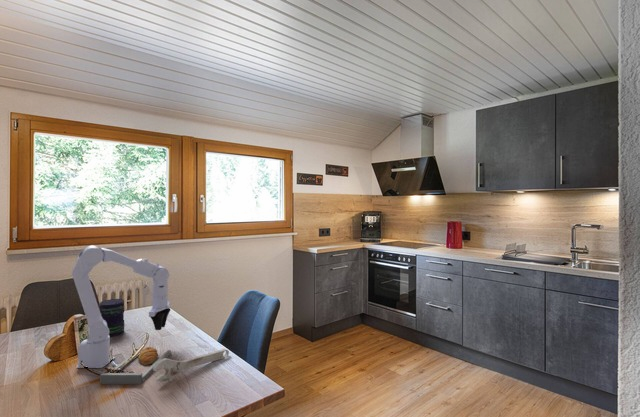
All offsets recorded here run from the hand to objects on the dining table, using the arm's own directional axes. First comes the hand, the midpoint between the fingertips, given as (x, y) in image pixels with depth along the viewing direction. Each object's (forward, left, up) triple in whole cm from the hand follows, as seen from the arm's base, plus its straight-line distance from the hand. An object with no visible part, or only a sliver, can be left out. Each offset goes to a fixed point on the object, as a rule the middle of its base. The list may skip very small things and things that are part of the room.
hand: (160, 328), depth 138 cm
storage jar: (-30, +16, -9) cm, 35 cm away
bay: (0, -17, -8) cm, 19 cm away
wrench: (+21, -18, -9) cm, 29 cm away
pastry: (0, -10, -9) cm, 13 cm away
